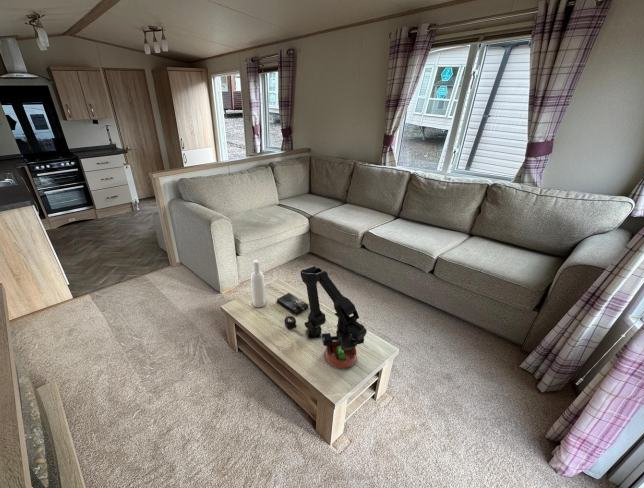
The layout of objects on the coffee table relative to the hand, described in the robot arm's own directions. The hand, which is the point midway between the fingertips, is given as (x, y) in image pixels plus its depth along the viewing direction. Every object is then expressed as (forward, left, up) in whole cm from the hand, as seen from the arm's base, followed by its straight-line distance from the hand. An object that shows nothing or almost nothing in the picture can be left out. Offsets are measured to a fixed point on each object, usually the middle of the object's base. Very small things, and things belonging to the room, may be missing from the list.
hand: (341, 351), depth 143 cm
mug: (-20, +22, -4) cm, 30 cm away
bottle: (-38, +47, -4) cm, 61 cm away
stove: (-18, +43, -4) cm, 47 cm away
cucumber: (0, 0, -4) cm, 4 cm away
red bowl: (0, 0, -4) cm, 4 cm away
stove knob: (-15, +38, -2) cm, 41 cm away
